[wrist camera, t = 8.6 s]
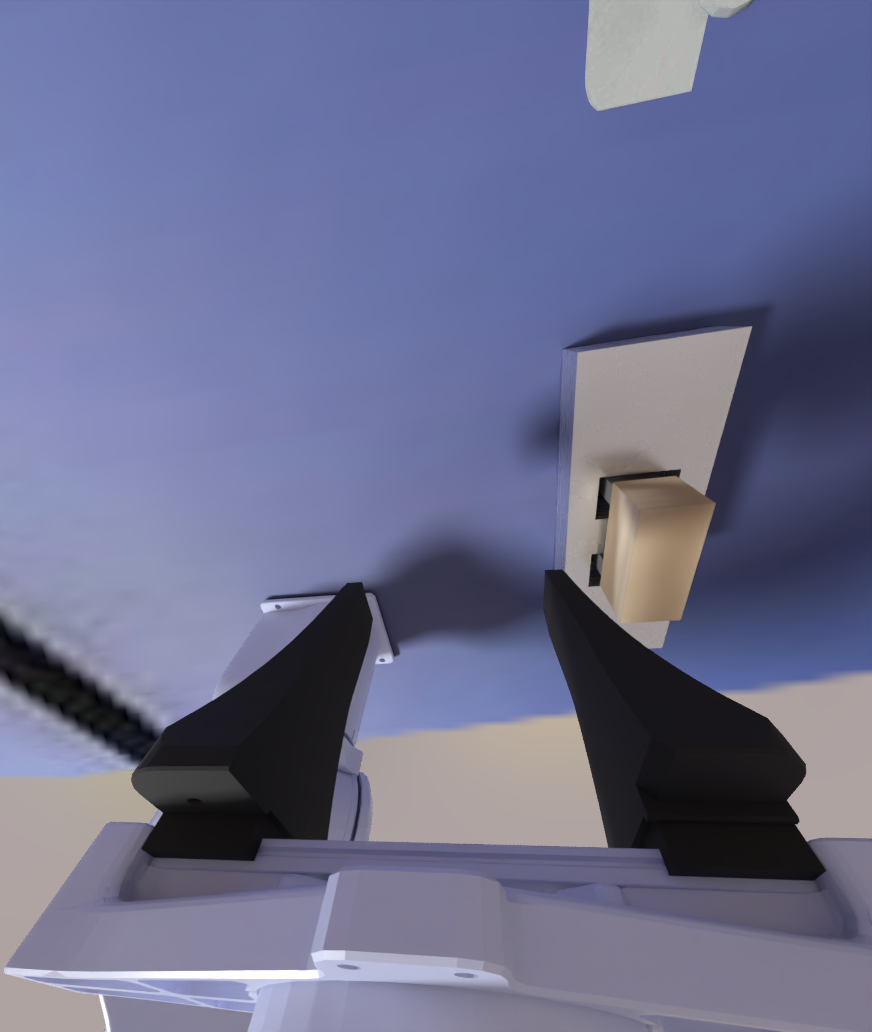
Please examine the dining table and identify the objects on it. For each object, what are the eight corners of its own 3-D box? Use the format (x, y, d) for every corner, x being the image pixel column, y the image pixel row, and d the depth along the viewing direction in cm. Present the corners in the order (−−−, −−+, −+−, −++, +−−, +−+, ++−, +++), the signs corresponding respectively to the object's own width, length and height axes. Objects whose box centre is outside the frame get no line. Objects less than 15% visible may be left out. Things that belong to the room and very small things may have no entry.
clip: (583, 556, 23) (620, 623, 18) (592, 461, 20) (640, 510, 14) (629, 552, 23) (680, 620, 17) (646, 455, 19) (715, 503, 14)
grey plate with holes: (551, 625, 26) (560, 652, 24) (562, 349, 17) (577, 352, 15) (644, 620, 26) (662, 647, 23) (712, 326, 16) (752, 325, 14)
